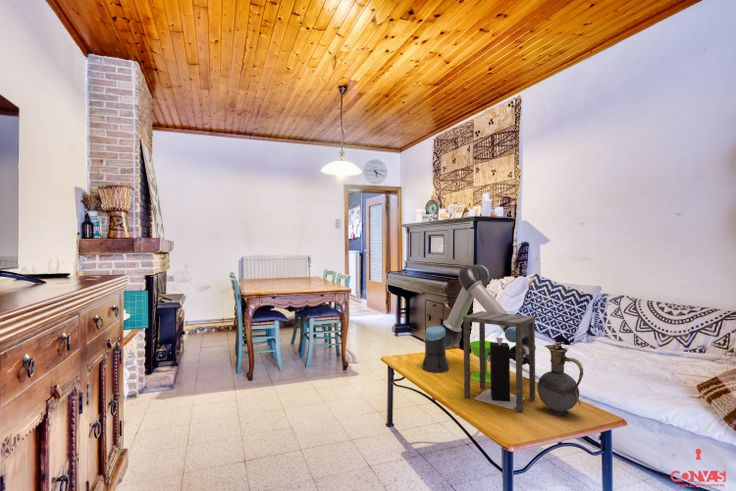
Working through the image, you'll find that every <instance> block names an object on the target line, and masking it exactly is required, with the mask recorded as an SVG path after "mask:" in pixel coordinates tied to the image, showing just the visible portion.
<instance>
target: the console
mask: <svg viewBox="0 0 736 491" xmlns="http://www.w3.org/2000/svg"><path fill="white" fill-rule="evenodd" d="M471 323H478V324H479V326H478V327H479V332H478V333H479V336H478V337H479V340H478V341H480V358H479V372H480V382H479V389H483V390H484V391H482V392H481V393H480V394H478V395H476V396H475V397H474V398H473V400H475V401H479V402H484V403H486V404H490V405H494V406H497V407H502V408H505V409H510V410H515V412H516V413H520V414H522V413H523V412H524V410H523V409H524V408H523V407H524V406H523V404H524V402H523V401H525V400H526V397H525V396H523V393H524V392H523V365H522V327H523V326H525V325H527V324H529V365H528V377H529V379H528V380H529V382H528V383H529V384H528V385H529V389H528V391H529V394H528V395H529V401H531V402H532V401H533V402H535V401H536V350H535V346H536V341H535V340H536V332H535V331H536V329H535V328H536V325H535V324H536V316H532V315H523V314H522V315H521V314H512V313H508V314H504V313H494V312H487V311H486V310H484V311H483V310H480V311H477V312H474V313H470V314H466V316H463V379H464V380H463V394H464V395H463V397H464V399H467V400H469V399H471V378H470V375H471V351H470V350H471V347H470V342H471V336H470V335H471V333H470V332H471V330H470V326H471ZM486 325H493V326H494V325H495V326H499V325H501V326H509V327H516V342H515V345H516V361H515V394H511V393H510V401H496V400H492V398H491V388H490V389H489V388H487V389H486V383H485V341H486ZM485 389H486V390H485ZM515 408H516V409H515Z"/></svg>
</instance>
